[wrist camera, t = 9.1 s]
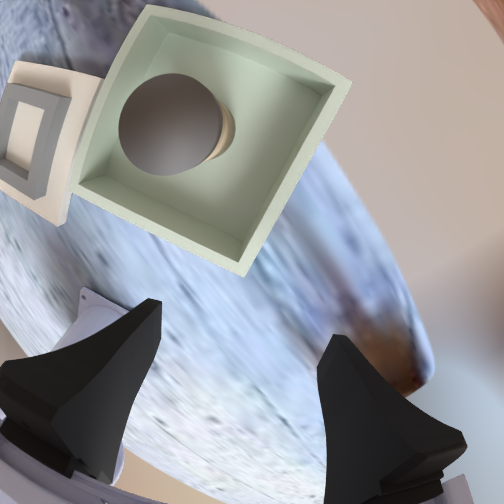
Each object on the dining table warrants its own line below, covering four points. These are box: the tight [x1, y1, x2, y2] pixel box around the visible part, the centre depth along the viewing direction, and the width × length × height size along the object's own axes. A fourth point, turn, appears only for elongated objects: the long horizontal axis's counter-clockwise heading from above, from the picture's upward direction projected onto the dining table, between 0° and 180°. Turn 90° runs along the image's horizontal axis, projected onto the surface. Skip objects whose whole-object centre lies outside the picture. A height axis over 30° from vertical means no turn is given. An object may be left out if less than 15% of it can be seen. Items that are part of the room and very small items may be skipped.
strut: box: [118, 73, 236, 176], centre depth 13 cm, size 4×4×7 cm
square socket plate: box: [0, 61, 105, 227], centre depth 15 cm, size 12×12×3 cm
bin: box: [68, 4, 353, 277], centre depth 15 cm, size 12×12×4 cm
